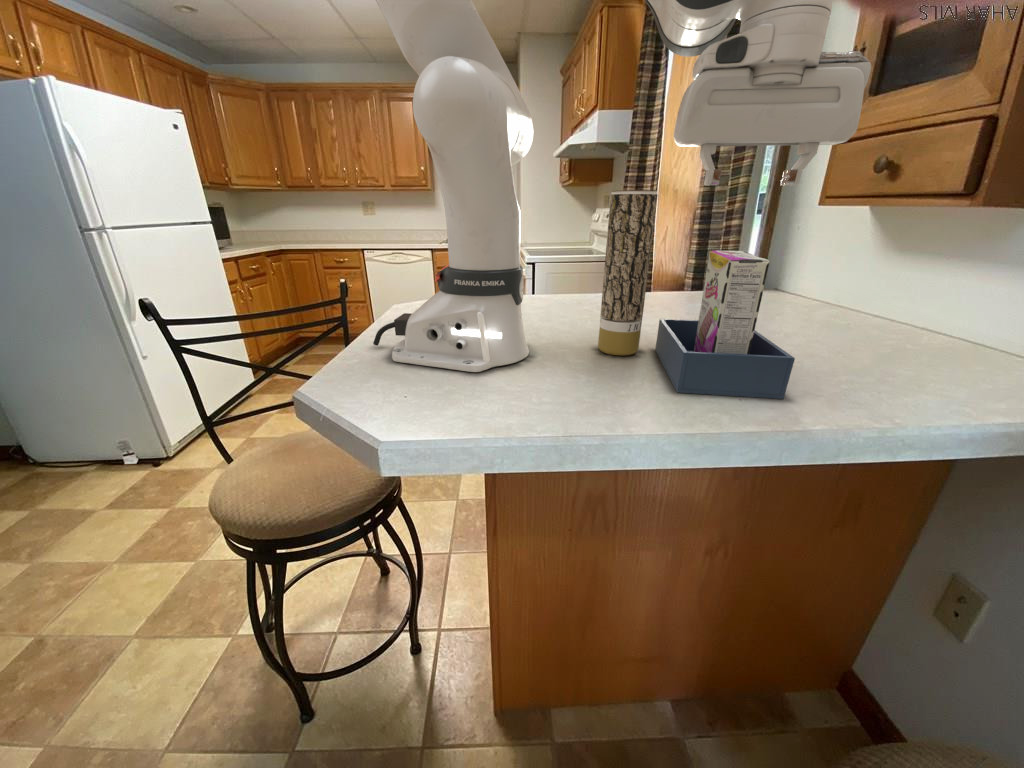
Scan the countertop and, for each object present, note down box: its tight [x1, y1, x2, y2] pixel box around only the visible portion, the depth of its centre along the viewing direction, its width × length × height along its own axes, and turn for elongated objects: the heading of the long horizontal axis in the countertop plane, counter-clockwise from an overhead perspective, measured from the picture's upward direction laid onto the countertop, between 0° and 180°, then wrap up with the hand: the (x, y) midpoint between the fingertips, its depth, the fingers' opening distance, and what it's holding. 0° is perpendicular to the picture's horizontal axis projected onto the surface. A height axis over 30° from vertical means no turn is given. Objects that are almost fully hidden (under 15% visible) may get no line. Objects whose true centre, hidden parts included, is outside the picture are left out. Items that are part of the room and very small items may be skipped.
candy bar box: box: [693, 249, 771, 355], centre depth 60 cm, size 11×5×16 cm, turn 169°
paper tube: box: [597, 189, 659, 356], centre depth 68 cm, size 7×7×25 cm
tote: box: [654, 318, 796, 400], centre depth 62 cm, size 13×18×6 cm
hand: (749, 185), depth 54 cm, fingers open, 8 cm apart
